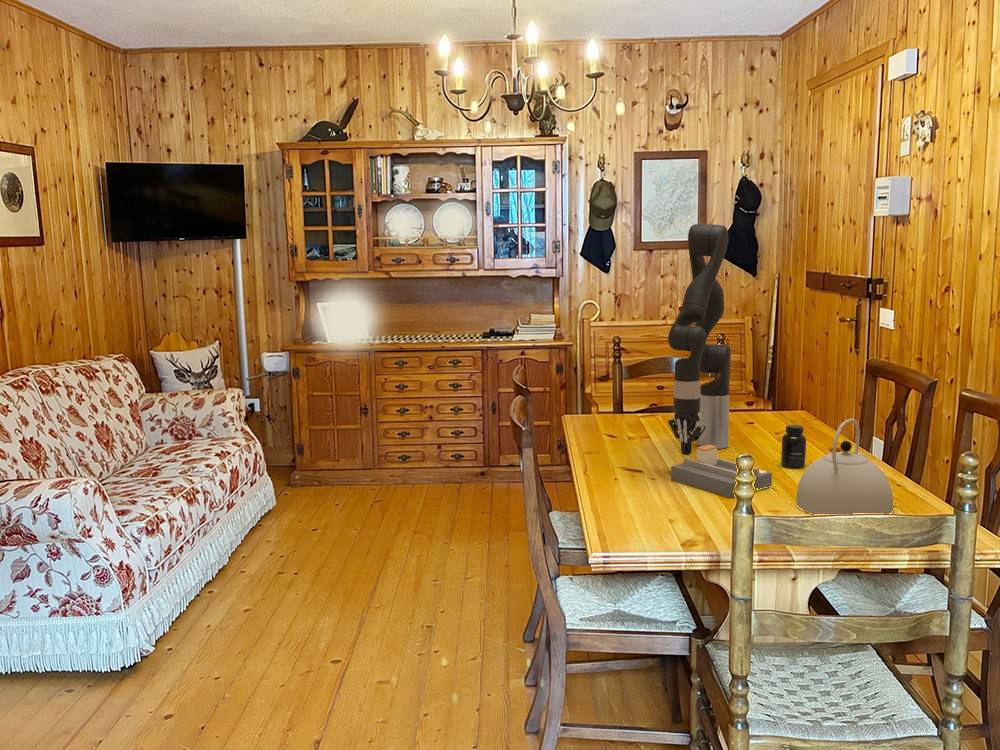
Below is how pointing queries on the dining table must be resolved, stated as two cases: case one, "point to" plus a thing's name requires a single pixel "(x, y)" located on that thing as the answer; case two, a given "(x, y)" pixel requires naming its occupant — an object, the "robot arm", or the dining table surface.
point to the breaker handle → (707, 454)
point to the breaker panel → (715, 476)
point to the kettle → (844, 483)
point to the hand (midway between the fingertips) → (686, 454)
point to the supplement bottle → (793, 447)
